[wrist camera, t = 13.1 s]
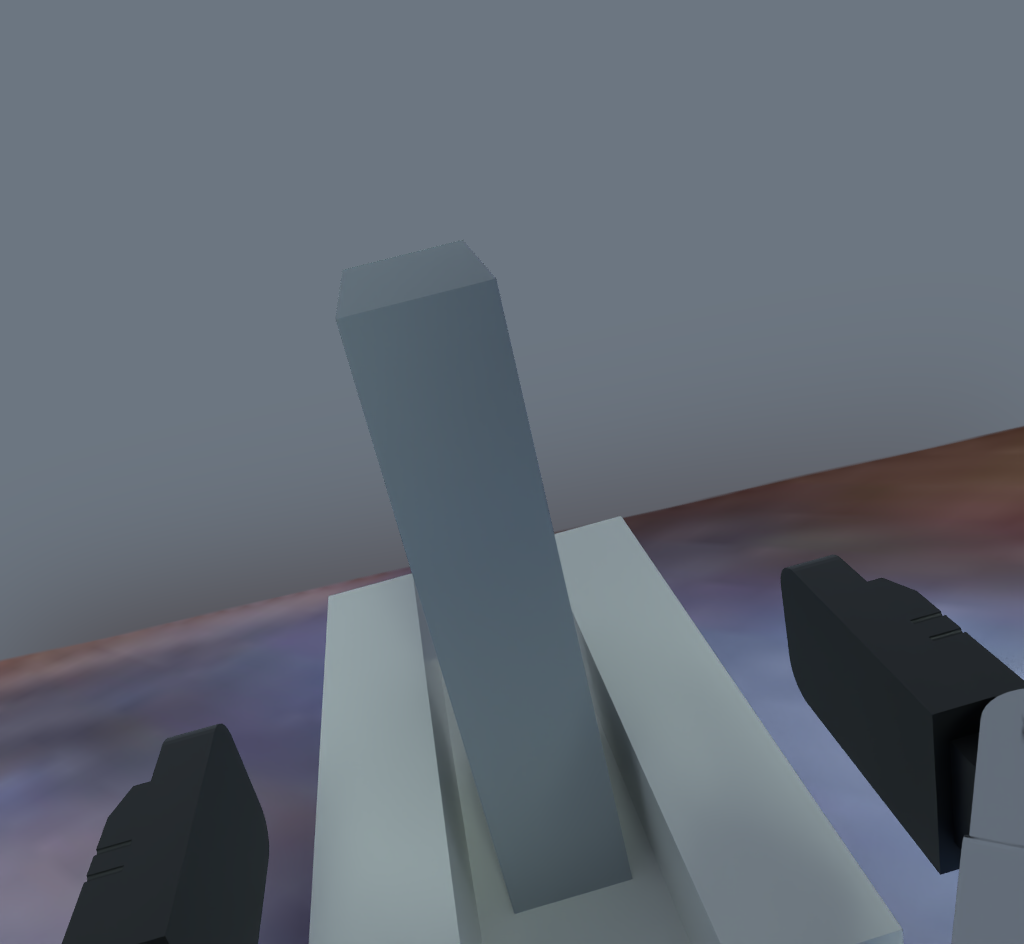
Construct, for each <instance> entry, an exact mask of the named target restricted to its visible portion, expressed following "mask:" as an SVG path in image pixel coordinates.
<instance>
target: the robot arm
mask: <svg viewBox="0 0 1024 944" xmlns="http://www.w3.org/2000/svg"><path fill="white" fill-rule="evenodd" d="M781 590H782V598H783V606H784V614H785V623H786V631H787V639H788V647H789V656H790V662H791V667H792V670H793V674H794V677H795V680H796V682H797V685H798V687H799V689H800V691H801V693H802V695H803V697H804V699H805V700H806V702H807V703H808V705H809V706H810V707H811V708H812V710H813V711H814V712H815V714H816V715H817V716H818V717H819V719H820V720H821V721H822V723H823V724H824V725H825V727H826V728H827V729H828V730H829V732H830V733H831V734H832V736H833V737H834V738H835V739H836V741H837V742H838V743H839V745H840V746H841V747H842V748H843V750H844V751H845V752H846V754H847V755H848V756H849V757H850V759H851V760H852V761H853V763H854V764H855V765H856V766H857V768H858V769H859V770H860V772H861V773H862V774H863V776H864V777H865V778H866V779H867V781H868V782H869V783H870V785H871V786H872V787H873V788H874V790H875V791H876V792H877V794H878V795H879V796H880V797H881V799H882V800H883V801H884V803H885V804H886V805H887V806H888V808H889V809H890V810H891V812H892V813H893V814H894V815H895V817H896V818H897V819H898V821H899V822H900V823H901V824H902V826H903V827H904V828H905V830H906V831H907V832H908V834H909V835H910V836H911V837H912V839H913V840H914V841H915V843H916V844H917V845H918V846H919V848H920V849H921V850H922V852H923V853H924V854H925V855H926V857H927V858H928V859H929V861H930V862H931V863H932V864H933V866H934V867H935V868H936V870H937V871H938V872H939V873H940V875H941V874H944V873H947V872H950V871H954V870H957V869H959V877H958V887H957V896H956V906H955V915H954V924H953V934H952V943H951V944H1024V680H1023V679H1021V678H1020V677H1019V676H1018V675H1017V674H1015V673H1014V672H1013V671H1012V670H1011V669H1009V668H1008V667H1007V666H1006V665H1005V664H1003V663H1002V662H1001V661H1000V660H999V659H997V658H996V657H995V656H994V655H993V654H991V653H990V652H989V651H988V650H987V649H985V648H984V647H983V646H982V645H981V644H979V643H978V642H977V641H976V640H975V639H973V638H972V637H971V636H970V635H969V634H968V633H966V632H964V633H962V631H961V628H960V627H959V626H958V625H957V624H956V623H954V622H953V621H952V620H951V619H950V618H948V617H947V616H946V615H945V616H942V614H941V611H940V610H939V609H938V608H936V607H935V606H934V605H933V604H932V603H930V602H929V601H928V600H927V599H926V598H924V597H923V596H922V595H921V594H920V593H918V592H917V591H915V590H912V589H910V588H907V587H905V586H902V585H900V584H897V583H894V582H892V581H889V580H887V579H884V578H879V579H875V580H872V581H868V582H867V581H866V580H865V579H863V578H862V577H861V576H860V575H859V574H858V573H857V572H856V571H855V570H853V569H852V568H851V567H850V566H849V565H848V564H847V563H846V562H845V561H843V560H842V559H841V558H840V557H839V556H837V555H830V556H826V557H823V558H819V559H816V560H812V561H808V562H805V563H801V564H798V565H794V566H790V567H787V568H784V569H783V570H782V573H781ZM96 850H97V855H95V856H94V857H93V860H92V862H91V865H90V868H89V871H88V873H87V882H84V884H83V887H82V890H81V892H80V895H79V898H78V901H77V903H76V906H75V909H74V912H73V914H72V917H71V920H70V923H69V925H68V928H67V931H66V933H65V936H64V939H63V942H62V944H258V938H259V930H260V922H261V914H262V907H263V899H264V891H265V883H266V875H267V867H268V859H269V839H268V831H267V826H266V821H265V817H264V814H263V811H262V808H261V805H260V803H259V801H258V798H257V796H256V793H255V791H254V789H253V786H252V784H251V781H250V779H249V777H248V774H247V772H246V769H245V767H244V765H243V762H242V760H241V757H240V755H239V753H238V750H237V748H236V745H235V743H234V741H233V738H232V736H231V734H230V732H229V730H228V729H227V728H226V726H225V725H223V724H217V725H213V726H210V727H206V728H202V729H199V730H195V731H192V732H188V733H184V734H181V735H177V736H174V737H170V738H167V739H166V740H165V741H164V743H163V745H162V748H161V751H160V754H159V758H158V761H157V764H156V767H155V770H154V773H153V776H152V779H151V781H150V782H147V783H143V784H140V785H136V786H133V787H132V788H131V790H130V791H129V792H128V793H127V795H126V796H125V797H124V798H123V800H122V801H121V802H120V803H119V805H118V806H117V807H116V808H115V810H114V811H113V812H112V813H111V815H110V816H109V817H108V819H107V821H106V824H105V827H104V830H103V832H102V835H101V838H100V841H99V843H98V846H97V849H96Z"/></svg>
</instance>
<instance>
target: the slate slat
mask: <svg viewBox="0 0 1024 944" xmlns="http://www.w3.org/2000/svg"><path fill="white" fill-rule="evenodd" d="M336 322H337V325H338V329H339V332H340V335H341V339H342V342H343V345H344V349H345V352H346V355H347V359H348V362H349V365H350V369H351V372H352V375H353V379H354V382H355V385H356V389H357V392H358V395H359V399H360V402H361V405H362V409H363V412H364V415H365V418H366V422H367V425H368V429H369V432H370V435H371V438H372V442H373V445H374V449H375V452H376V455H377V458H378V461H379V465H380V468H381V472H382V475H383V478H384V482H385V485H386V488H387V492H388V495H389V498H390V502H391V505H392V508H393V511H394V515H395V518H396V522H397V525H398V528H399V532H400V535H401V538H402V542H403V545H404V548H405V552H406V555H407V558H408V562H409V565H410V568H411V572H412V575H413V578H414V582H415V585H416V588H417V592H418V595H419V598H420V602H421V605H422V608H423V612H424V615H425V618H426V622H427V625H428V628H429V632H430V635H431V638H432V642H433V645H434V648H435V652H436V655H437V658H438V661H439V665H440V668H441V671H442V675H443V678H444V681H445V685H446V688H447V691H448V695H449V698H450V701H451V705H452V708H453V711H454V715H455V718H456V721H457V725H458V728H459V731H460V735H461V738H462V741H463V745H464V748H465V751H466V755H467V758H468V761H469V765H470V768H471V771H472V775H473V778H474V781H475V785H476V788H477V791H478V795H479V798H480V801H481V805H482V808H483V811H484V815H485V818H486V821H487V825H488V828H489V831H490V835H491V838H492V841H493V845H494V848H495V851H496V855H497V858H498V861H499V864H500V868H501V871H502V874H503V878H504V881H505V884H506V888H507V891H508V894H509V898H510V901H511V904H512V908H513V911H514V914H517V913H520V912H523V911H527V910H530V909H533V908H537V907H540V906H544V905H547V904H550V903H554V902H557V901H561V900H564V899H567V898H571V897H574V896H577V895H581V894H584V893H588V892H591V891H594V890H598V889H601V888H604V887H608V886H611V885H615V884H618V883H621V882H625V881H628V880H632V874H631V870H630V865H629V861H628V857H627V852H626V848H625V843H624V839H623V835H622V830H621V826H620V821H619V817H618V813H617V808H616V804H615V799H614V795H613V791H612V786H611V782H610V777H609V773H608V769H607V764H606V760H605V755H604V751H603V747H602V742H601V738H600V733H599V729H598V725H597V720H596V716H595V711H594V707H593V703H592V698H591V694H590V689H589V685H588V681H587V676H586V672H585V668H584V663H583V659H582V654H581V650H580V646H579V641H578V637H577V632H576V628H575V624H574V619H573V615H572V610H571V606H570V602H569V597H568V593H567V588H566V584H565V580H564V575H563V571H562V566H561V562H560V558H559V553H558V549H557V544H556V540H555V536H554V531H553V527H552V522H551V518H550V514H549V510H548V505H547V501H546V496H545V492H544V487H543V483H542V478H541V474H540V470H539V466H538V461H537V457H536V452H535V448H534V443H533V439H532V434H531V430H530V426H529V421H528V417H527V412H526V408H525V404H524V399H523V395H522V390H521V386H520V382H519V377H518V373H517V368H516V364H515V360H514V355H513V351H512V346H511V342H510V338H509V333H508V329H507V324H506V320H505V316H504V311H503V307H502V303H501V298H500V294H499V289H498V285H497V281H496V278H495V277H494V276H493V274H492V273H491V272H490V271H489V270H488V269H487V267H486V266H485V265H484V264H483V263H482V262H481V260H480V259H479V258H478V257H477V256H476V255H475V253H474V252H473V251H472V250H471V249H470V248H469V246H468V245H467V244H466V243H465V242H464V241H463V240H461V241H457V242H453V243H449V244H445V245H441V246H437V247H433V248H429V249H425V250H421V251H417V252H413V253H409V254H405V255H401V256H397V257H393V258H389V259H385V260H381V261H377V262H373V263H369V264H365V265H361V266H357V267H353V268H349V269H345V270H343V271H342V278H341V285H340V292H339V299H338V307H337V313H336Z"/></svg>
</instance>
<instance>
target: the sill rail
mask: <svg viewBox="0 0 1024 944" xmlns="http://www.w3.org/2000/svg"><path fill="white" fill-rule="evenodd" d="M554 536H555V540H556V544H557V549H558V553H559V558H560V562H561V566H562V571H563V575H564V580H565V584H566V588H567V593H568V597H569V602H570V606H571V610H572V615H573V619H574V624H575V628H576V632H577V637H578V641H579V646H580V650H581V654H582V659H583V663H584V668H585V672H586V676H587V681H588V685H589V689H590V694H591V698H592V703H593V707H594V711H595V716H596V720H597V725H598V729H599V733H600V738H601V742H602V747H603V751H604V755H605V760H606V764H607V769H608V773H609V777H610V782H611V786H612V791H613V795H614V799H615V804H616V808H617V813H618V817H619V821H620V826H621V830H622V835H623V839H624V843H625V848H626V852H627V857H628V861H629V865H630V870H631V874H632V880H628V881H625V882H621V883H618V884H615V885H611V886H608V887H604V888H601V889H598V890H594V891H591V892H588V893H584V894H581V895H577V896H574V897H571V898H567V899H564V900H561V901H557V902H554V903H550V904H547V905H544V906H540V907H537V908H533V909H530V910H527V911H523V912H520V913H517V914H514V911H513V908H512V904H511V901H510V898H509V894H508V891H507V888H506V884H505V881H504V878H503V874H502V871H501V868H500V864H499V861H498V858H497V855H496V851H495V848H494V845H493V841H492V838H491V835H490V831H489V828H488V825H487V821H486V818H485V815H484V811H483V808H482V805H481V801H480V798H479V795H478V791H477V788H476V785H475V781H474V778H473V775H472V771H471V768H470V765H469V761H468V758H467V755H466V751H465V748H464V745H463V741H462V738H461V735H460V731H459V728H458V725H457V721H456V718H455V715H454V711H453V708H452V705H451V701H450V698H449V695H448V691H447V688H446V685H445V681H444V678H443V675H442V671H441V668H440V665H439V661H438V658H437V655H436V652H435V648H434V645H433V642H432V638H431V635H430V632H429V628H428V625H427V622H426V618H425V615H424V612H423V608H422V605H421V602H420V598H419V595H418V592H417V588H416V585H415V582H414V578H413V575H412V573H411V574H408V575H404V576H401V577H397V578H393V579H390V580H386V581H382V582H379V583H375V584H371V585H368V586H364V587H361V588H357V589H353V590H350V591H346V592H342V593H339V594H335V595H331V596H329V599H328V616H327V634H326V651H325V669H324V686H323V704H322V721H321V739H320V756H319V774H318V791H317V809H316V826H315V844H314V861H313V879H312V896H311V914H310V931H309V944H904V943H903V930H902V928H901V926H900V925H899V923H898V922H897V920H896V919H895V917H894V916H893V915H892V913H891V912H890V910H889V909H888V907H887V906H886V904H885V903H884V901H883V900H882V898H881V897H880V895H879V894H878V893H877V891H876V890H875V888H874V887H873V885H872V884H871V882H870V881H869V879H868V878H867V876H866V875H865V873H864V872H863V871H862V869H861V868H860V866H859V865H858V863H857V862H856V860H855V859H854V857H853V856H852V854H851V853H850V851H849V850H848V849H847V847H846V846H845V844H844V843H843V841H842V840H841V838H840V837H839V835H838V834H837V832H836V831H835V829H834V828H833V826H832V825H831V824H830V822H829V821H828V819H827V818H826V816H825V815H824V813H823V812H822V810H821V809H820V807H819V806H818V804H817V803H816V802H815V800H814V799H813V797H812V796H811V794H810V793H809V791H808V790H807V788H806V787H805V785H804V784H803V782H802V781H801V780H800V778H799V777H798V775H797V774H796V772H795V771H794V769H793V768H792V766H791V765H790V763H789V762H788V760H787V759H786V757H785V756H784V755H783V753H782V752H781V750H780V749H779V747H778V746H777V744H776V743H775V741H774V740H773V738H772V737H771V735H770V734H769V733H768V731H767V730H766V728H765V727H764V725H763V724H762V722H761V721H760V719H759V718H758V716H757V715H756V713H755V712H754V711H753V709H752V708H751V706H750V705H749V703H748V702H747V700H746V699H745V697H744V696H743V694H742V693H741V691H740V690H739V688H738V687H737V686H736V684H735V683H734V681H733V680H732V678H731V677H730V675H729V674H728V672H727V671H726V669H725V668H724V666H723V665H722V664H721V662H720V661H719V659H718V658H717V656H716V655H715V653H714V652H713V650H712V649H711V647H710V646H709V644H708V643H707V642H706V640H705V639H704V637H703V636H702V634H701V633H700V631H699V630H698V628H697V627H696V625H695V624H694V622H693V621H692V619H691V618H690V617H689V615H688V614H687V612H686V611H685V609H684V608H683V606H682V605H681V603H680V602H679V600H678V599H677V597H676V596H675V595H674V593H673V592H672V590H671V589H670V587H669V586H668V584H667V583H666V581H665V580H664V578H663V577H662V575H661V574H660V573H659V571H658V570H657V568H656V567H655V565H654V564H653V562H652V561H651V559H650V558H649V556H648V555H647V553H646V552H645V550H644V549H643V548H642V546H641V545H640V543H639V542H638V540H637V539H636V537H635V536H634V534H633V533H632V531H631V530H630V528H629V527H628V526H627V524H626V523H625V521H624V520H623V518H622V517H621V516H619V517H615V518H611V519H608V520H604V521H600V522H597V523H593V524H590V525H586V526H582V527H579V528H575V529H571V530H568V531H564V532H560V533H557V534H554Z"/></svg>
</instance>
